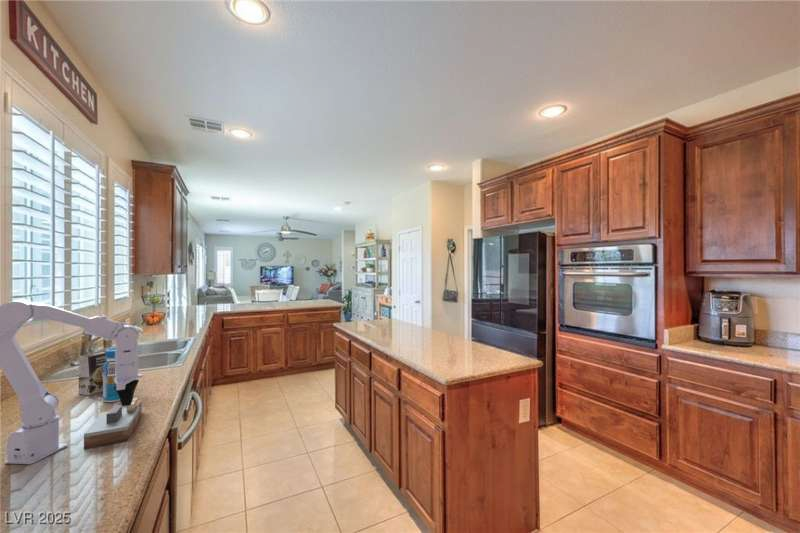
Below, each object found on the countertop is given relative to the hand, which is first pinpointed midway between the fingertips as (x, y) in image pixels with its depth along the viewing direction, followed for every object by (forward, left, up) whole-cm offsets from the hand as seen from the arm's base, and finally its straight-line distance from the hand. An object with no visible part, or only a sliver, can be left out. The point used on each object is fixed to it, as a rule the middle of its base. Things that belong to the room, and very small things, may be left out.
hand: (126, 405), depth 107 cm
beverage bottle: (+25, +28, -9) cm, 38 cm away
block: (+6, +4, -4) cm, 8 cm away
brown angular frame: (+2, +5, -9) cm, 10 cm away
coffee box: (+32, +44, -9) cm, 55 cm away
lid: (-1, +3, -5) cm, 6 cm away
